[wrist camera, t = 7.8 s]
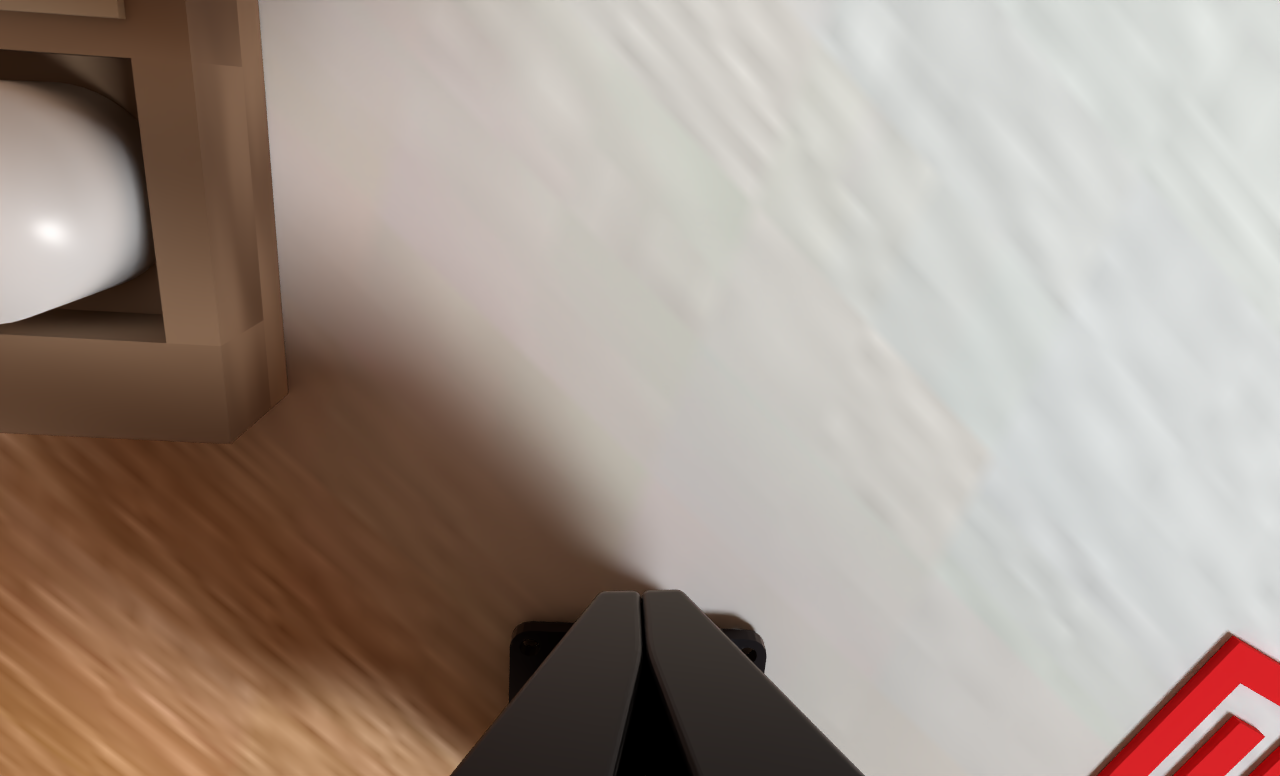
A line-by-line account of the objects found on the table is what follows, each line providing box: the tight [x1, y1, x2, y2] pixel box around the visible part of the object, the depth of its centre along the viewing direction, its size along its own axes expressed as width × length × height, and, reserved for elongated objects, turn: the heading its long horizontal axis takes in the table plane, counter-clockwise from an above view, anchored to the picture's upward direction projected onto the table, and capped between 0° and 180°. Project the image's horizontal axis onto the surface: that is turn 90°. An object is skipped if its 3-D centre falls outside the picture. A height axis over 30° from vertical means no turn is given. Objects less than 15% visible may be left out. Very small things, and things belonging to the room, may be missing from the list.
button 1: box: [0, 80, 156, 324], centre depth 15 cm, size 4×4×3 cm
